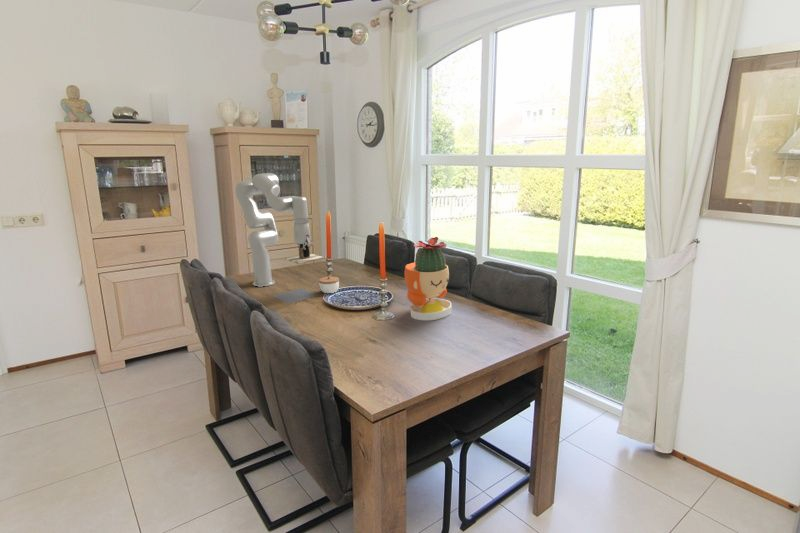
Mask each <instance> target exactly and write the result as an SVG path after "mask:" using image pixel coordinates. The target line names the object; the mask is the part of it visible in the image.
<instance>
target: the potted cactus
mask: <svg viewBox="0 0 800 533" xmlns="http://www.w3.org/2000/svg"><path fill="white" fill-rule="evenodd" d="M438 240H439V237H437V236H435V237H430V238H429V239H427V240H426V242H423V240H418V242H416V243H413V247H415V248H420V249H419V250H418V252H417V253H416V258H415V261H414V262H411V263H407V264H406V265H405V267H404V275H403V276H404V281H405V285H406V287H407V289H408V290H407V293H406V296H407V300H408V301H409V302H410V303H411V304H412V305H411V306H410V316H411V318H412V319H415V320H418V321H434V320H436V321H437V320H439V319H443V318H445V317H448V316H449V315H450V314H451V313H452V302H451V301H450V300H447V299H443V297H445V296H447V294H448V290H447V286H448V284H449V281H450V271H449V270H450V269H449V265H447V264H446V260H447V259H446V257H445V256H444V251H442V250H441V249H442V248H443V249H444V248H447V244H446V243H445V242H444V241H439V243H438Z"/></svg>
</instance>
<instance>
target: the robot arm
mask: <svg viewBox="0 0 800 533" xmlns="http://www.w3.org/2000/svg"><path fill="white" fill-rule="evenodd" d="M279 183H280V179H279V178H278V176H277V175H276V174H275V173H273V172H264V173H257V174H254V176H253V177H252V179H249V180H248V179H247V180H246V179H245V180H241V181H239V182H237V183H236V185H235V188H234V193H235V196H236V199H237V201H238V203H239V205H240V207H241V210H242V213H243V218H244V221H245V223H246V226H247V228H248V229H252V230H254V229H255V231H252V232H250V233H249V234H248V237H247V241H248V244H249V248H250V252H251V257H252V258H251V259H252V267H253V274H254V281H253V282H252V286H253V285H254V286H253V287H255V286H258V287H257V288H264V287H263V286H265V287H269V286H272V285H274V284H275V283H276V281H275V280H274V279H273V278H272V268H271V267H272V266H271V259H270V252H269V251H268V249H267V248H266V247H267V246H273V245H276V244H277V243H278V242H279V233H278V229H277V225H276V221H275V219H274V215H273V214H272V212H270V211H269V210H259V208H258V204H257V202H256V201H255V199H254V198H252V197H251V196H258V195H265V197H266V201H267V204H268V206H269V207H270V208H272V209H273V210H274V211H277V212H279V213H284V212H291V211H292V214H293V215H292V216H293V217H292V220H293V239H294V240H293V241H294V243H296V244H297V248H298V249H299V248H304V250H303V253H304V257H309V256H310V246H311V245H312V242H311V241H312V238H311V236H312V235H311V230H310V225H309V224H310V222H309V220H310V219H309V209H308V200H307V198H306V197H305V196H297V195H287V196H281V197H279V195H280V193H281V192H280V191H281V187H280V184H279ZM260 228H263V229H260ZM256 229H259V230H256Z"/></svg>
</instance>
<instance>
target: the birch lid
mask: <svg viewBox="0 0 800 533" xmlns="http://www.w3.org/2000/svg"><path fill="white" fill-rule="evenodd" d="M303 250H304V247H303V248H298V255H293V256H290V257H289V256H288V257H285V258H284V260H285V261H288V262H291V263H293V264H296V265H302V264H306V263H307V264H308V263H311V262H315V261H321V260H325V256H321V255H317V254H314V253H310V256H309V257H304V253H303Z"/></svg>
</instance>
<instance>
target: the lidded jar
mask: <svg viewBox="0 0 800 533" xmlns="http://www.w3.org/2000/svg"><path fill="white" fill-rule="evenodd" d="M318 284H319V288H320V289H319V290H320V291H321V292H322V293H323V294H325V293H333V294H335V293H336V292H337V291H338V290H339V287H340V278H339V277H337V276H330V275H328V276H324V277H320V278H319V279H318ZM334 292H335V293H334Z"/></svg>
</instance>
